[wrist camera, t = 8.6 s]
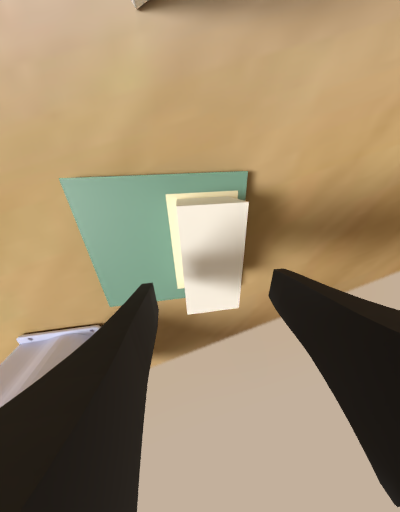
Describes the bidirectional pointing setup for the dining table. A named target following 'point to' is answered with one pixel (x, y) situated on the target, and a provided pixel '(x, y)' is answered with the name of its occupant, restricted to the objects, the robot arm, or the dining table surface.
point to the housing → (212, 251)
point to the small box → (138, 3)
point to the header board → (140, 226)
